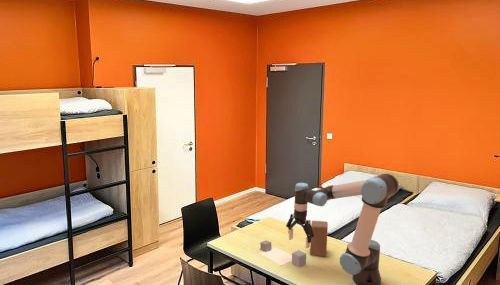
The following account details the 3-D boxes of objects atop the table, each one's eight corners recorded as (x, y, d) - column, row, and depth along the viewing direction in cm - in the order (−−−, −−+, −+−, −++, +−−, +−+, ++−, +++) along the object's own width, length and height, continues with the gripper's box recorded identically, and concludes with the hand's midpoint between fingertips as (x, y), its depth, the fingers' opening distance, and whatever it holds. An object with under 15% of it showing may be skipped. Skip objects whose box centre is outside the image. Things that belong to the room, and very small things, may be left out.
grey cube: (271, 249, 247) (271, 242, 247) (265, 251, 244) (265, 244, 243) (266, 247, 251) (266, 240, 250) (260, 249, 248) (260, 242, 247)
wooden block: (326, 257, 238) (327, 227, 235) (309, 256, 240) (311, 225, 236) (326, 250, 248) (327, 221, 244) (310, 248, 250) (311, 219, 246)
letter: (297, 258, 236) (297, 258, 236) (281, 266, 227) (281, 265, 227) (274, 247, 251) (275, 247, 251) (258, 253, 242) (258, 253, 242)
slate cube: (306, 264, 230) (306, 253, 228) (299, 267, 226) (299, 256, 224) (298, 260, 234) (298, 250, 233) (291, 263, 230) (292, 253, 229)
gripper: (321, 214, 217) (319, 249, 221) (289, 202, 235) (288, 234, 239) (312, 217, 212) (310, 253, 216) (281, 204, 231) (279, 237, 235)
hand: (299, 243), depth 228 cm, fingers open, 13 cm apart
